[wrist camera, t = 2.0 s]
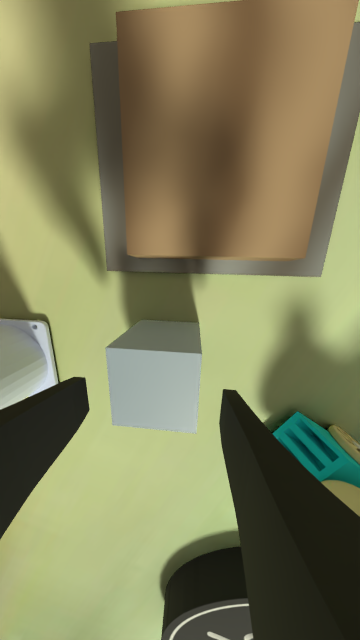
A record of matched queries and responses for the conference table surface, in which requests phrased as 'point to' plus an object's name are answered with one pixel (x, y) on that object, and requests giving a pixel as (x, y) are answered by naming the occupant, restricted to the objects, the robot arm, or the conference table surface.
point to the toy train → (325, 456)
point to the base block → (226, 134)
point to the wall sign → (208, 599)
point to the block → (156, 376)
